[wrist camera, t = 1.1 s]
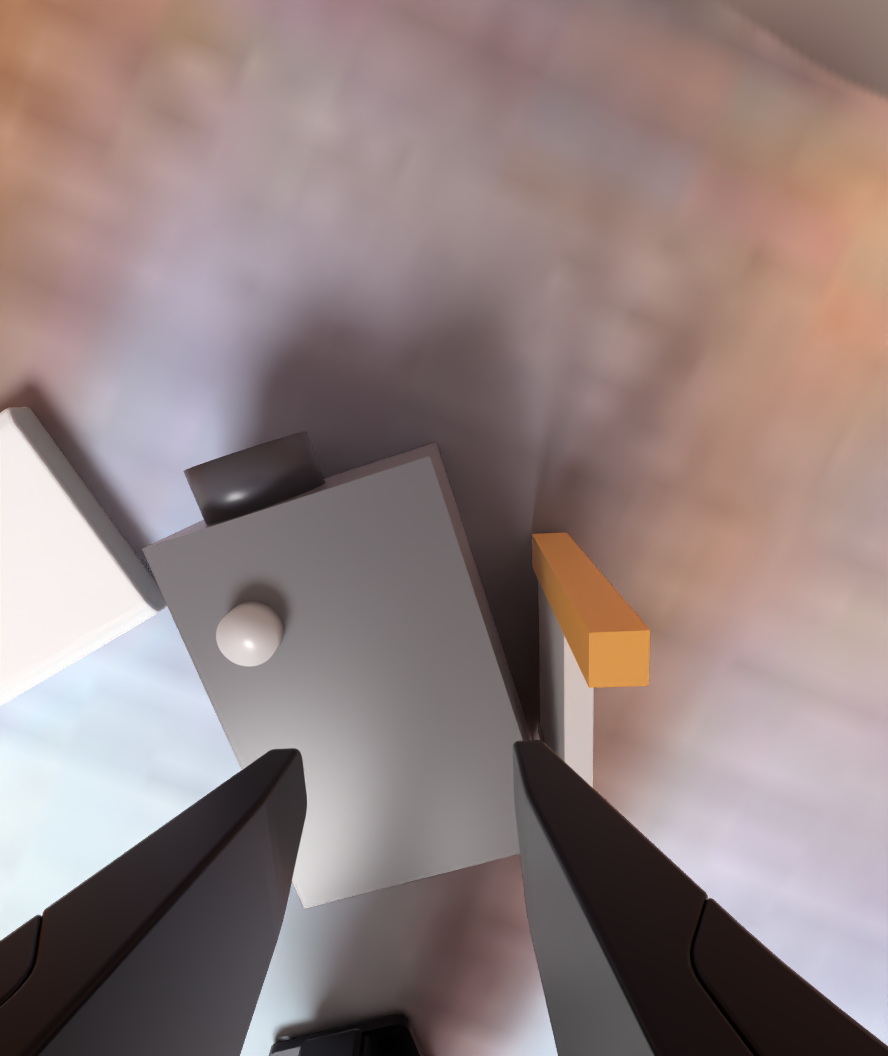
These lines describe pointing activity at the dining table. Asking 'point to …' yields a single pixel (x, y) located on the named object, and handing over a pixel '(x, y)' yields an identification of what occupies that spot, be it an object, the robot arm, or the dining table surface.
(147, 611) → the external hard drive
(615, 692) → the dining table surface
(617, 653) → the side door
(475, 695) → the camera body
